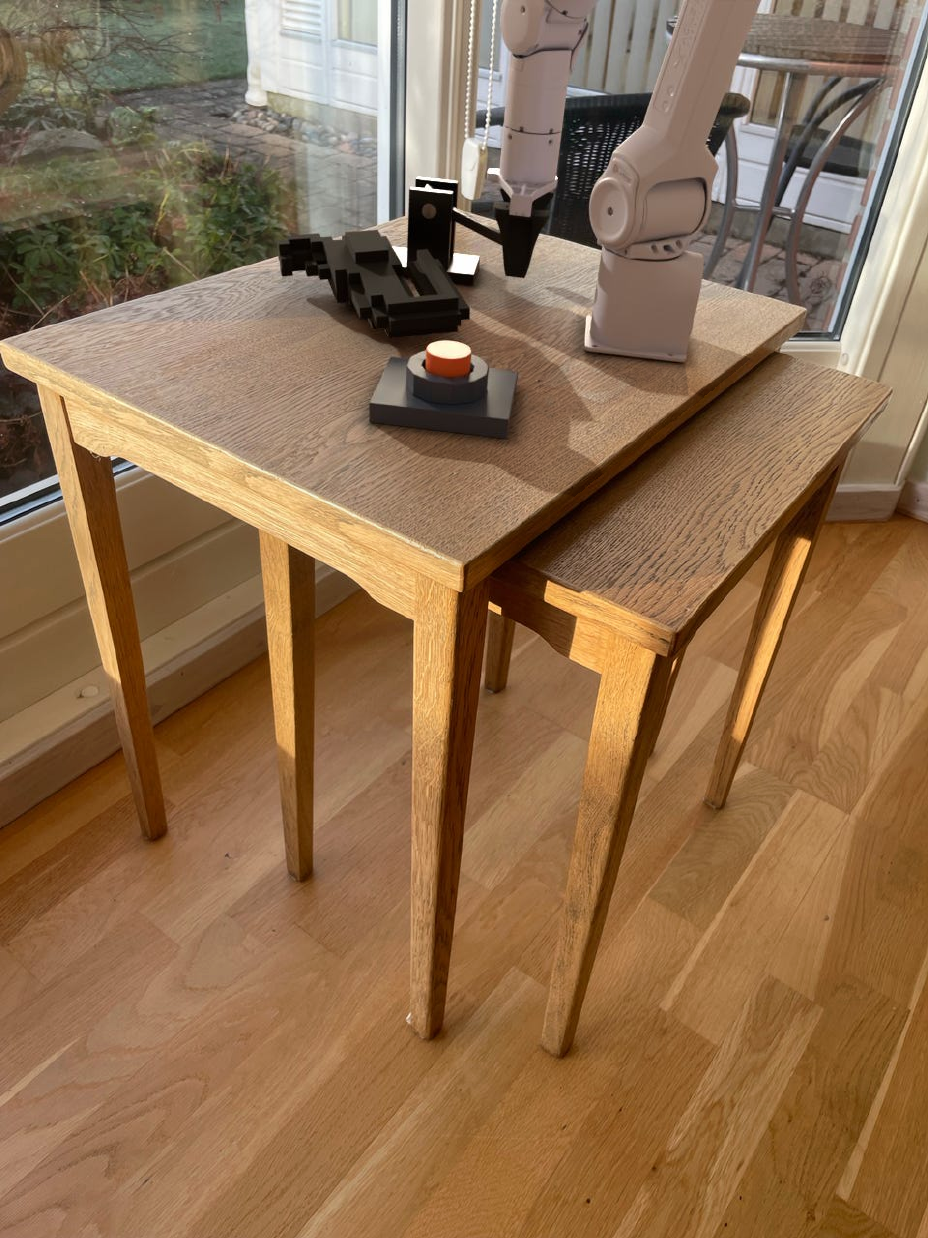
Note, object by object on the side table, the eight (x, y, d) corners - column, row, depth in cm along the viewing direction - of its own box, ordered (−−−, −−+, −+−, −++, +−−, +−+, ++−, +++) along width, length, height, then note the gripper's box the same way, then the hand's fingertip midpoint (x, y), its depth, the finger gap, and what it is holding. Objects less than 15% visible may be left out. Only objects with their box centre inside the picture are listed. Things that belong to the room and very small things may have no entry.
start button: (472, 363, 81) (474, 342, 80) (467, 382, 78) (468, 361, 77) (429, 358, 81) (430, 337, 80) (422, 376, 78) (423, 355, 77)
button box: (516, 389, 85) (520, 351, 82) (506, 439, 78) (511, 398, 75) (389, 374, 85) (390, 335, 83) (369, 422, 78) (369, 381, 76)
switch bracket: (479, 266, 108) (486, 182, 102) (472, 285, 103) (479, 198, 98) (389, 256, 108) (391, 171, 103) (378, 275, 104) (380, 187, 98)
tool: (302, 305, 83) (473, 289, 86) (273, 221, 98) (420, 211, 101) (308, 363, 87) (472, 346, 90) (279, 274, 102) (420, 262, 105)
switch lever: (520, 252, 106) (530, 232, 105) (516, 268, 102) (527, 247, 101) (420, 200, 104) (429, 179, 103) (412, 214, 100) (421, 192, 99)
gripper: (499, 106, 102) (487, 240, 110) (484, 140, 91) (472, 286, 99) (566, 114, 102) (549, 247, 110) (560, 148, 90) (541, 294, 99)
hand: (517, 266), depth 105 cm, fingers closed on switch lever, 5 cm apart
